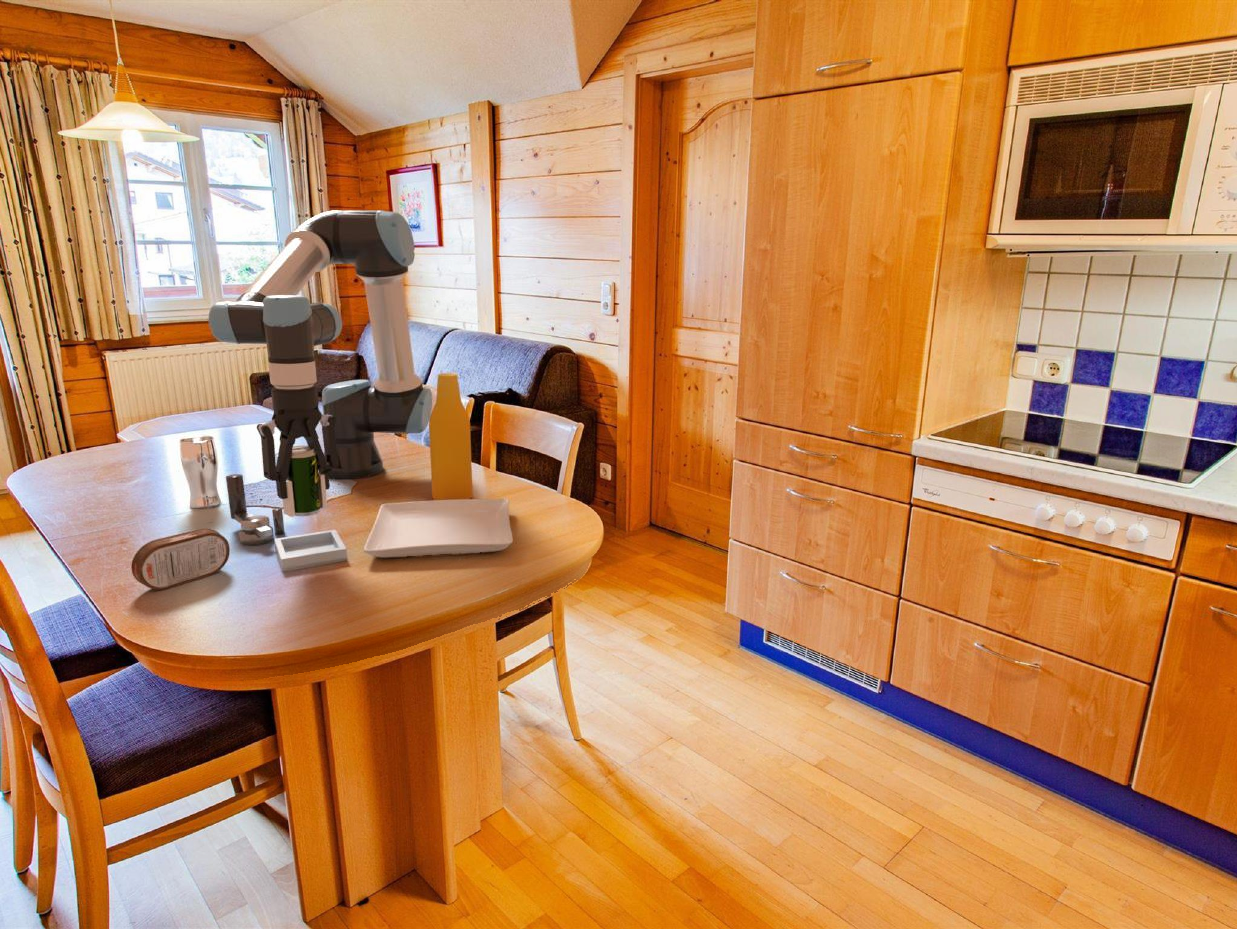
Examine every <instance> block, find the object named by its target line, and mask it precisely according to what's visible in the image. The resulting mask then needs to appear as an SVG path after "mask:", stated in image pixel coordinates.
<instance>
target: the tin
mask: <svg viewBox="0 0 1237 929" xmlns="http://www.w3.org/2000/svg"><path fill="white" fill-rule="evenodd" d="M230 550H231V549H230V543H229V541H228V540H227V539H226V537H225V536H224V535H222V534H221V533H220V532H218V531H217V530H215V529H212V528H207V527H201V528H197V529H194V530H190V531H185V532H182V533H178V534H173V535H170V536H169V535H168V536H166V537H165V536H164V537H161V538H157V539H153V540H151V541H149V542H147V543H145V544H143V545H142V546H141V547H140V548H139V549H138V550H137V551H136V553H135V554H134V556H133V558H132V560H131V561H132V562H131V568H130V569H131V573H132V576H133V577H134V579H135V581H137V582H139V583H140V584H142V585H143V586H144V587H147V588H149V589H151V590H156V591H157V590H167V589H169V588H174V587H176V586H177V587H178V586H180V585H183V584H187V583H191V582H193V581H196V580H199V579H204V578H206V577H210V576H213V575H215V574H217V573H218V572H219V571H221V570H222V568H224V567H225V566H226V564H227V563H228V560H229V558H230V552H231V551H230Z"/></svg>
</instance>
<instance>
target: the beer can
mask: <svg viewBox="0 0 1237 929" xmlns="http://www.w3.org/2000/svg"><path fill="white" fill-rule="evenodd" d="M318 472H319V471H318V464H317V454H316V452H315V448H313V449H311V447H309V446H308V445H293V449H292V455H291V460H290V466H289V471H288V477H287V479H288V480H290V481H292V489H293V499H294V509H295V516H296V517H309V516H315V515H317V514H319V513H320V512H321V509H322V508H321V498H320V487H319V475H318ZM295 516H294V517H295Z"/></svg>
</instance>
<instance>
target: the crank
mask: <svg viewBox="0 0 1237 929" xmlns="http://www.w3.org/2000/svg"><path fill="white" fill-rule="evenodd" d="M225 480H226V481H225V482H226V488H227V497H228V504H229V505H228V506H229V511H230V512H229V513H230V519H232V520H235V521H237V523H239V524H240V528H241V529H240V530H242V532H245V533H256V534H257V535H259V536H260V537H266V536H270V535H272V529H271V528H270V526H271V525H270V518H269V516H266V515H253V514H252V513H250V512H249V511H247V510H248V509H247V502H246V501H247V500H246V494H245V493H246V492H245V486H244V485H245V484H244V477H243V474H240V473H238V474H237V473H235V474H229V475H226V477H225Z"/></svg>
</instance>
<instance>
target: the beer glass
mask: <svg viewBox="0 0 1237 929" xmlns="http://www.w3.org/2000/svg"><path fill="white" fill-rule="evenodd" d="M215 442H216V441H215V438H214V436H212V435H194V436H188V437H183V438H181V439H180V440H179V454H180V461H181V466H182V471H183V473H184V476H185V480H186V481H187V484H188V488H189V493H190V494H189V498H190V500H189V507H190V508H191V509H196V510H197V509H199V510H203V509H205V510H206V509H211V508H214V507H217V506H220V505H221V503H222V500H221V497H220V495H219V491H218V486H217V485H218V470H219V466H218V465H219V464H218V461H219V459H218V453H217V452H218V451H217V448H216V443H215Z"/></svg>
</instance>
